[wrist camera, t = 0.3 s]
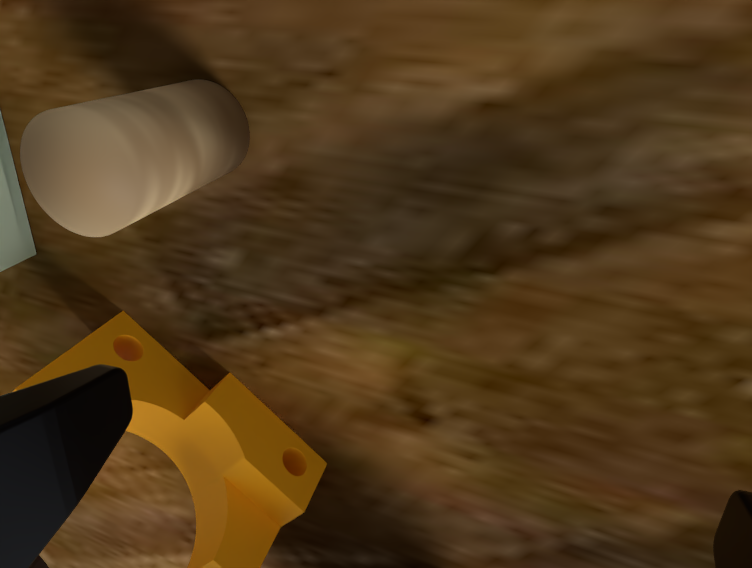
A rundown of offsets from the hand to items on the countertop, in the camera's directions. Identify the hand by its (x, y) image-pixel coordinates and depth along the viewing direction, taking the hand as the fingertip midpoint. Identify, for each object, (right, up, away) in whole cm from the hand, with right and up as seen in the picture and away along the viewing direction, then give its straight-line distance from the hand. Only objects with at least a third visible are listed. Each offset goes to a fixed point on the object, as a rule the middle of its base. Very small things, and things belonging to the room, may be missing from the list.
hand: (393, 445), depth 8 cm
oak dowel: (-7, +8, +14) cm, 17 cm away
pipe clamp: (-8, -3, +20) cm, 22 cm away
